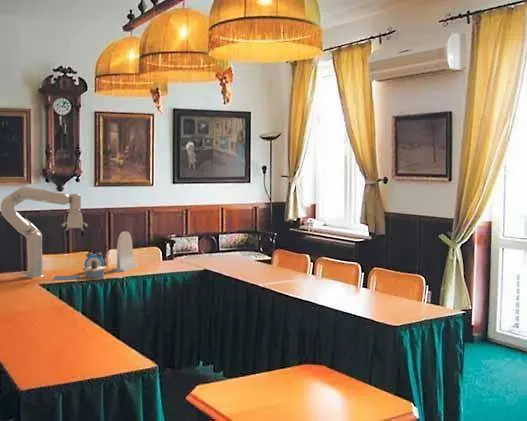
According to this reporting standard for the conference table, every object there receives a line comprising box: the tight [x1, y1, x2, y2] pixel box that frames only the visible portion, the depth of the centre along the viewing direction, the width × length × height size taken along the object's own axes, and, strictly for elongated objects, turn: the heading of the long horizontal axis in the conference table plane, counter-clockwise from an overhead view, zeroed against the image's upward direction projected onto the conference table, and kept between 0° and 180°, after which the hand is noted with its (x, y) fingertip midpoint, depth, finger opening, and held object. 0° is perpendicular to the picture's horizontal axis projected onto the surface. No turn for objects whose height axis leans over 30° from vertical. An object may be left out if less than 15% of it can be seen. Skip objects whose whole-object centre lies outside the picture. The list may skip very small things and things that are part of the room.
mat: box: [52, 274, 82, 281], centre depth 436 cm, size 17×17×1 cm
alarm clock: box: [84, 251, 105, 268], centre depth 458 cm, size 13×6×15 cm, turn 99°
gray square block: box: [84, 270, 105, 280], centre depth 439 cm, size 12×12×6 cm
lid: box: [82, 260, 106, 272], centre depth 439 cm, size 15×15×6 cm
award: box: [112, 231, 139, 273], centre depth 478 cm, size 28×9×28 cm, turn 170°
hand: (74, 236), depth 450 cm, fingers open, 9 cm apart
